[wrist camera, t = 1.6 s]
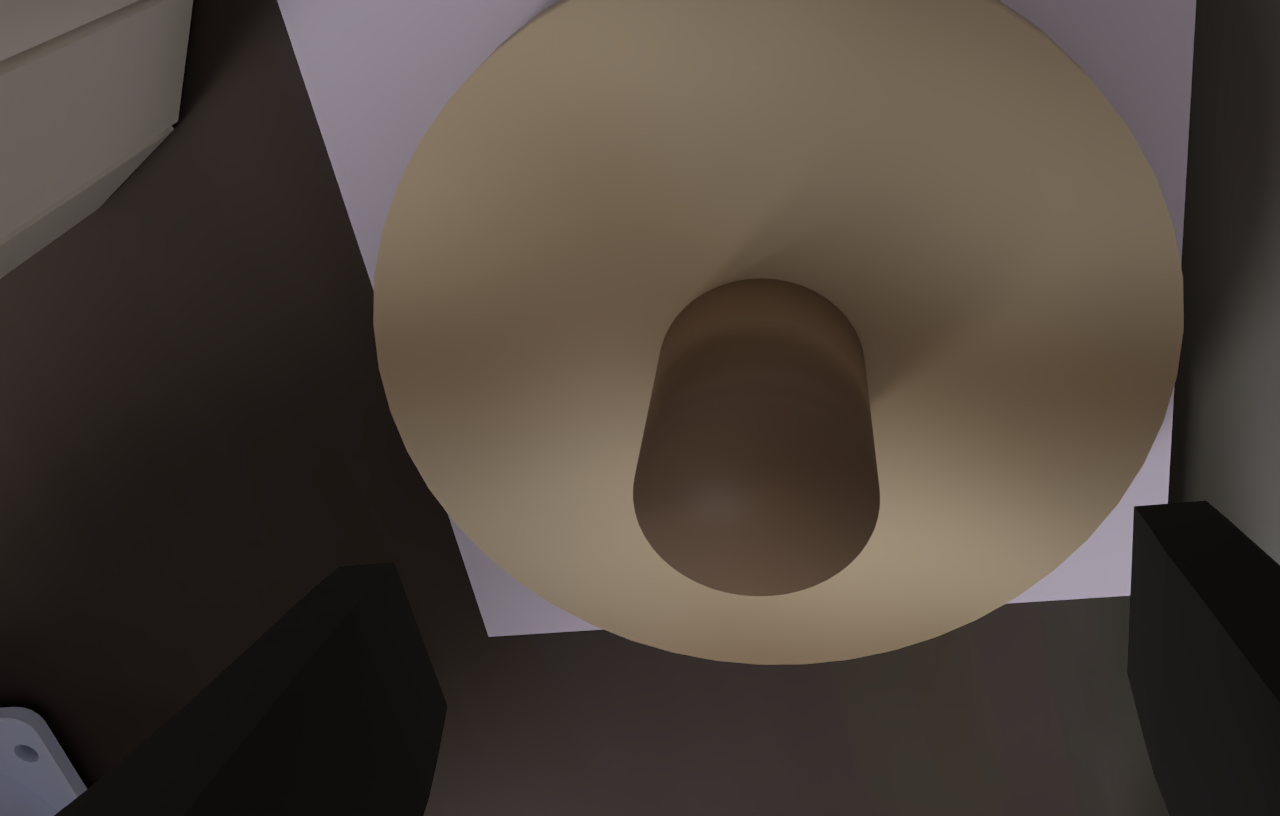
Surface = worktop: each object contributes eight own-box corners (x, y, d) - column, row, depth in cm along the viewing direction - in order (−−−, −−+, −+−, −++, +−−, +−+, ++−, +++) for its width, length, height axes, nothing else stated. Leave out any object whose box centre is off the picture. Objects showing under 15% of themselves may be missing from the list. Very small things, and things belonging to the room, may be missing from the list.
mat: (1155, 577, 19) (1163, 593, 19) (493, 621, 21) (488, 636, 21) (1196, -198, 13) (1207, -196, 13) (282, -25, 15) (270, -20, 15)
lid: (1136, 575, 18) (1229, 806, 15) (503, 618, 21) (436, 830, 17) (1168, -149, 13) (1327, -91, 9) (308, 6, 15) (141, 107, 11)
